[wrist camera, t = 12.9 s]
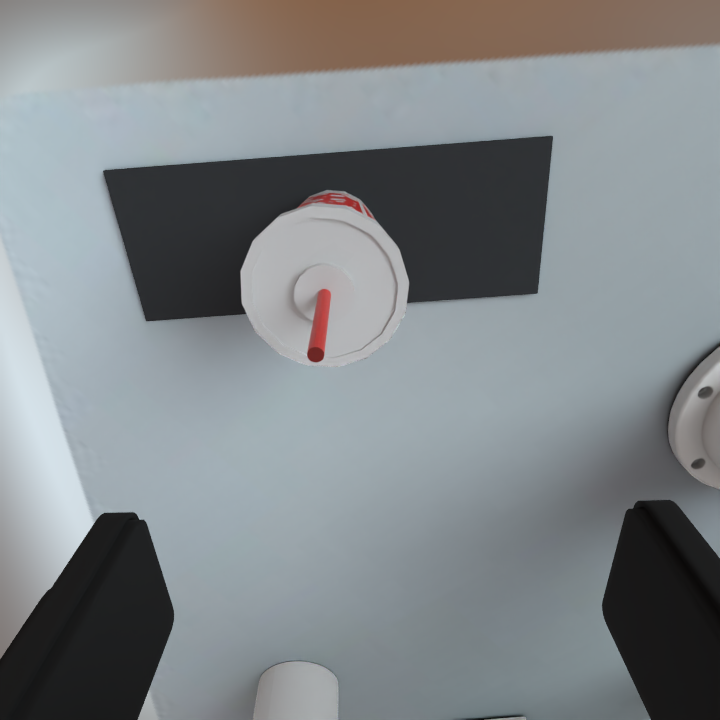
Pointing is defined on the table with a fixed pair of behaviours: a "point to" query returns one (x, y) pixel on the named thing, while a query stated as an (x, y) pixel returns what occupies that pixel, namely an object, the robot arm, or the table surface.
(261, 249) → the beverage cup
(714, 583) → the robot arm
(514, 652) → the table surface
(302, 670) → the cylindrical container
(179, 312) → the mat
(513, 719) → the milk carton
